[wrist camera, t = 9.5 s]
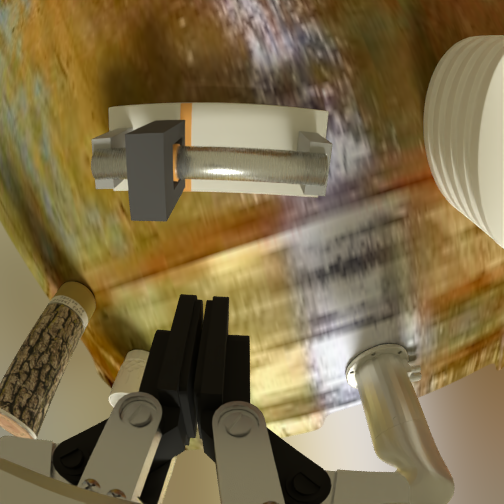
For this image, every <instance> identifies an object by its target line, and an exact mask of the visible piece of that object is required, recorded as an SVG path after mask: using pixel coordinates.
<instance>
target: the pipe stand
mask: <svg viewBox="0 0 504 504" xmlns="http://www.w3.org/2000/svg"><path fill="white" fill-rule="evenodd" d="M183 103H192V125H191V146H221V147H247V148H264V149H279V150H292V151H303V152H311V153H320V154H326V155H327V159H328V173H329V166H330V159H331V151H332V143H330V142H329V141H328V140H326V130H327V121H328V111H324V110H316V109H308V108H299V107H289V106H277V105H264V104H247V103H218V102H183ZM180 110H181V103H154V104H138V105H125V106H114V107H109V132H107V133H105V134H102V135H100V136H98V137H96V138H93V139H92V151H93V153H94V151H95V150H96V149H106V148H119V147H125V134H127V133H129V132H131V131H133V130H135V129H137V128H140V127H142V126H144V125H146V124H149V123H151V122H153V121H155V120H180ZM327 180H328V174H327ZM327 180H326V183H325V185H324V186H313V185H300V184H286V183H271V182H253V181H232V180H201V179H191V191H206V192H234V193H255V194H273V195H289V196H304V197H317V198H318V196H325V193H326V187H327ZM95 183H96V189H114V191H128V180H127V179H110V180H96V179H95Z"/></svg>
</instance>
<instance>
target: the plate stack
mask: <svg viewBox="0 0 504 504" xmlns="http://www.w3.org/2000/svg"><path fill="white" fill-rule="evenodd" d="M423 127H424V142H425V149H426V154H427V159H428V163H429V166H430V169H431V172H432V175H433V177H434V180H435V182H436V184H437V186H438V188H439V189H440V191H441V193H442V194H443V196H444V197H445V198H446V199H447V201H448V202H449V203H450V204H451V205H452V206H453V207H454V208H456V209H457V210H458V211H460V212H461V213H462V214H463V215H465V216H466V217H467V218H468V219H470V220H471V221H472V222H473V223H474V224H476V225H477V226H478V227H479V228H480V229H482V230H483V231H484V232H485V233H486V234H487V235H489V236H490V237H491V238H492V239H494V240H495V241H496V242H497V243H498V244H499V245H500V246H501V247H502V248H503V249H504V35H487V36H472V37H468V38H465V39H463V40H461V41H459V42H457V43H456V44H454V45H453V46H452V47H451V48H450V49H449V50H448V51H447V52H446V53H445V54H444V55H443V57H442V58H441V59H440V61H439V63H438V64H437V66H436V68H435V70H434V72H433V75H432V77H431V80H430V83H429V86H428V90H427V95H426V100H425V107H424V121H423Z"/></svg>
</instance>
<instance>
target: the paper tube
mask: <svg viewBox="0 0 504 504" xmlns="http://www.w3.org/2000/svg"><path fill="white" fill-rule="evenodd" d="M95 308H96V302H95V298H94V296H93V294H92V293H91V291H90V290H89V289H88V288H87V287H85V286H84V285H83V284H81V283H78V282H74V281H70V282H66V283H64V284H63V285H62V286H61V287H60V289H59V290H58V291H57V293H56V294H55V296H54V297H53V298H52V300H51V301H50V303H49V304H48V305H47V307H46V308H45V310H44V311H43V313H42V315H41V316H40V318H39V319H38V321H37V322H36V324H35V325H34V327H33V328H32V330H31V332H30V333H29V335H28V336H27V338H26V340H25V341H24V343H23V345H22V346H21V348H20V349H19V351H18V353H17V354H16V356H15V358H14V360H13V361H12V363H11V365H10V366H9V369H8V370H7V372H6V374H5V375H4V377H3V379H2V381H1V383H0V426H1V427H2V428H3V429H5V430H6V431H8V432H9V433H11V434H13V435H14V436H16V437H22V438H29V439H37V436H38V434H39V431H40V428H41V426H42V423H43V421H44V418H45V416H46V413H47V411H48V408H49V406H50V403H51V401H52V398H53V396H54V394H55V392H56V389H57V387H58V385H59V383H60V380H61V378H62V376H63V374H64V371H65V369H66V367H67V365H68V363H69V361H70V358H71V357H72V354H73V352H74V350H75V348H76V346H77V344H78V342H79V340H80V338H81V336H82V334H83V332H84V330H85V328H86V326H87V324H88V322H89V320H90V318H91V316H92V315H93V313H94V311H95Z"/></svg>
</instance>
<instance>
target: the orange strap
mask: <svg viewBox="0 0 504 504" xmlns="http://www.w3.org/2000/svg"><path fill="white" fill-rule="evenodd" d="M180 120H185V146H191V125H192V103H181V110H180ZM178 146H180V144H173V181H178V180H179V179H177V178H176V176H175V154H176V149H177V147H178ZM183 191H191V179H185V188H184V190H183Z"/></svg>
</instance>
